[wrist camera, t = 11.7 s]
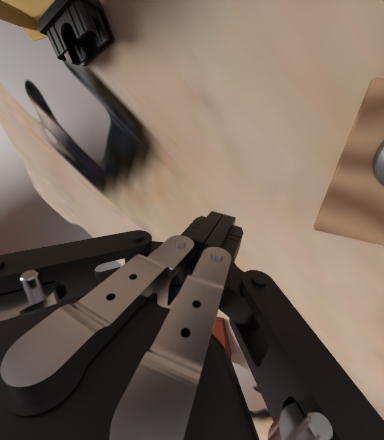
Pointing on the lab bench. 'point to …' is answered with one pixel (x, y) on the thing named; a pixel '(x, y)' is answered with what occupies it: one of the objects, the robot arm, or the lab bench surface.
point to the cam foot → (379, 164)
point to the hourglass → (25, 14)
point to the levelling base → (358, 177)
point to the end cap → (76, 29)
